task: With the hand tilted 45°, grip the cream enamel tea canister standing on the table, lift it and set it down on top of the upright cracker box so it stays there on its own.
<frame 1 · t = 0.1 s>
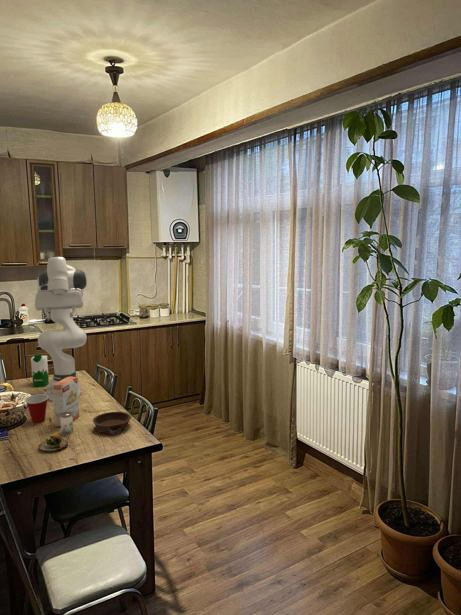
hand: (60, 317, 203), 54 cm above the table, tool tilted 30°, fingers open, 8 cm apart
dish: (112, 428, 218), on the table
tea canister: (67, 432, 213), on the table
cracker box: (67, 421, 226), on the table
milk carton: (41, 385, 284), on the table
plastic cup: (38, 421, 227), on the table
burger: (53, 448, 197), on the table
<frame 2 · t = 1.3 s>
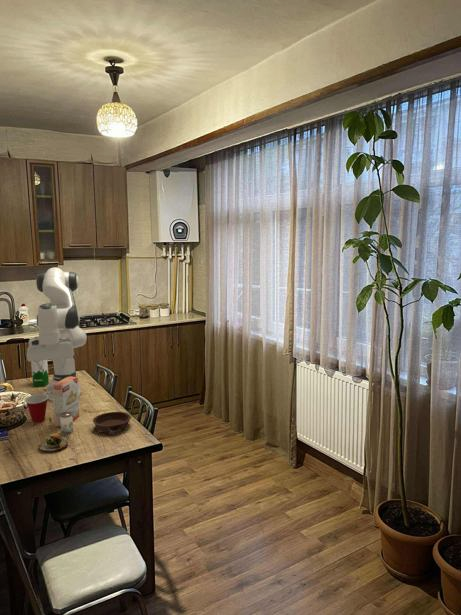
hand: (51, 368, 211), 30 cm above the table, tool pointing down, fingers open, 8 cm apart
nothing on the table moved.
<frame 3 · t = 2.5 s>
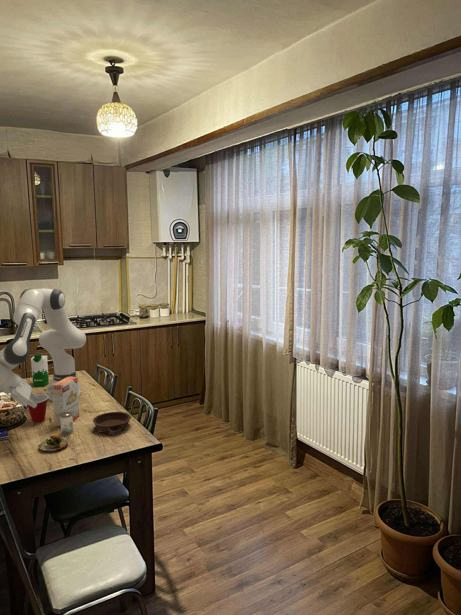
hand: (36, 403, 206), 16 cm above the table, tool tilted 45°, fingers open, 8 cm apart
nothing on the table moved.
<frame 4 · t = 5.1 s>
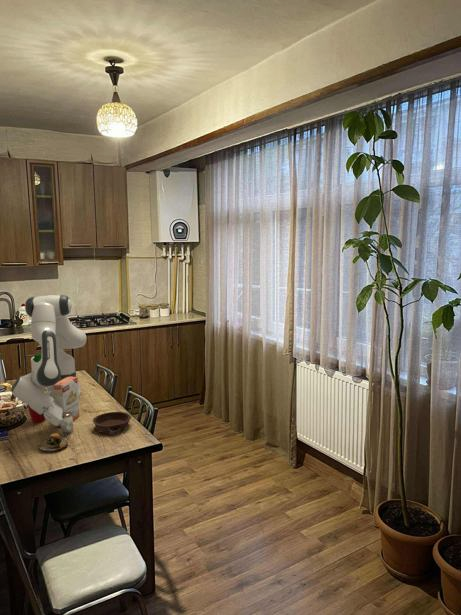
hand: (68, 422, 212), 5 cm above the table, tool tilted 45°, fingers closed on tea canister, 5 cm apart
tea canister: (67, 432, 213), on the table, touching gripper
everything else where it was.
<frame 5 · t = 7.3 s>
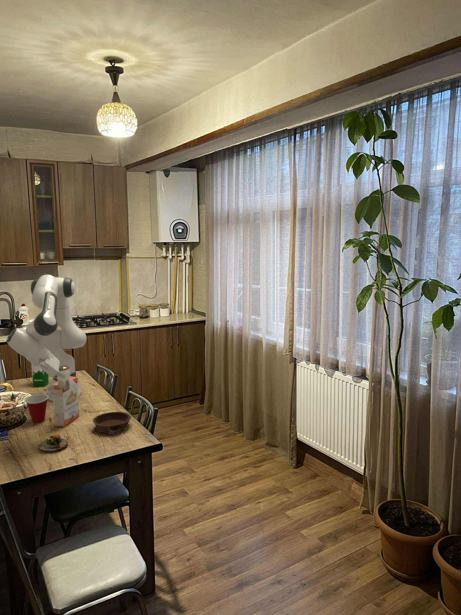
hand: (65, 375, 209), 27 cm above the table, tool tilted 45°, fingers closed on tea canister, 5 cm apart
tea canister: (64, 386, 210), point 22 cm above the table, touching gripper
everything else where it was.
when the fingers open (27 cm above the table, at t = 9.9 s): tea canister drops 2 cm, resting on cracker box.
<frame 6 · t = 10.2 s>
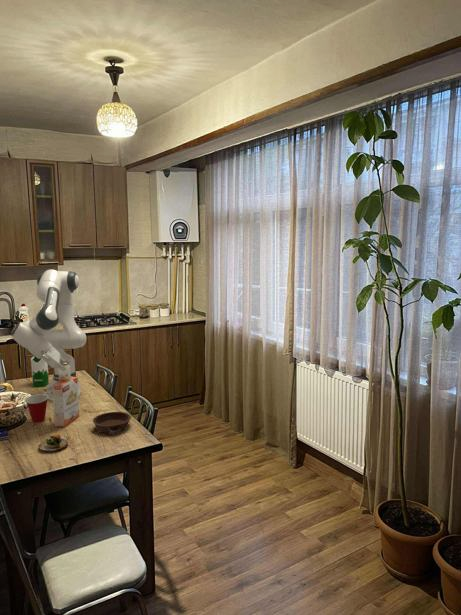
hand: (65, 367, 222), 27 cm above the table, tool tilted 45°, fingers open, 8 cm apart
tea canister: (64, 380, 223), point 21 cm above the table, touching cracker box
cracker box: (67, 421, 226), on the table, touching tea canister
everything else where it was.
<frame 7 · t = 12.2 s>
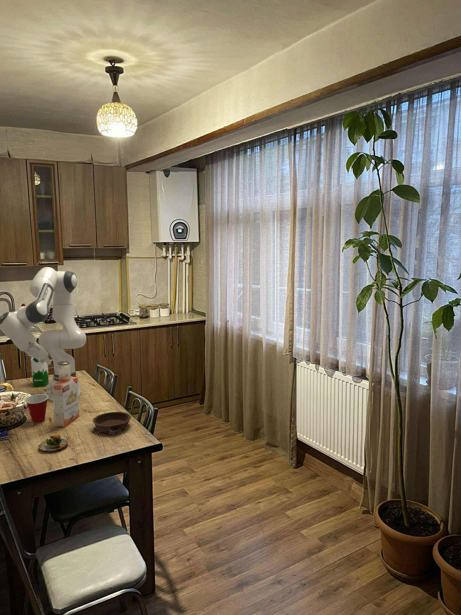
hand: (46, 362, 221), 30 cm above the table, tool tilted 35°, fingers open, 8 cm apart
nothing on the table moved.
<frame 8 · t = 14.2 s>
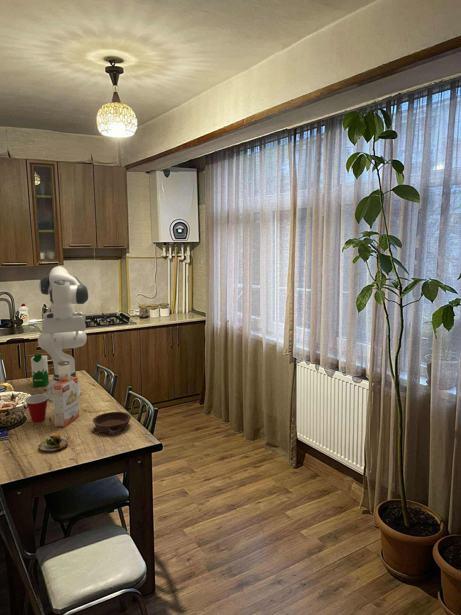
hand: (64, 341, 226), 39 cm above the table, tool pointing down, fingers open, 8 cm apart
nothing on the table moved.
at the end: tea canister inside the target area on the cracker box (0.0 cm from its centre), point 21.1 cm above the cracker box's base; tea canister tilted 0°; the gripper is holding nothing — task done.
